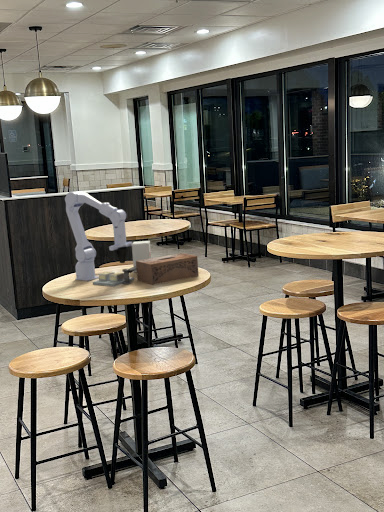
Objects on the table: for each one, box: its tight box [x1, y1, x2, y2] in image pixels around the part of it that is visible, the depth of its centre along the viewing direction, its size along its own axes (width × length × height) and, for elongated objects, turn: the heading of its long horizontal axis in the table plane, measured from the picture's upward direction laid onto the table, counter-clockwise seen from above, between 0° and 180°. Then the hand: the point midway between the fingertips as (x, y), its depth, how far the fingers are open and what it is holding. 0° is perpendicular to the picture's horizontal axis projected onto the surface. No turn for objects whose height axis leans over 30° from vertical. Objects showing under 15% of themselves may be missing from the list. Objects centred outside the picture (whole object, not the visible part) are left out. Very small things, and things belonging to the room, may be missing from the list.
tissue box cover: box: [136, 252, 200, 286], centre depth 307 cm, size 26×14×10 cm, turn 123°
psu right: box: [109, 272, 124, 282], centre depth 305 cm, size 5×6×3 cm
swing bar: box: [121, 266, 137, 274], centre depth 308 cm, size 18×4×2 cm, turn 159°
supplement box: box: [131, 240, 152, 273], centre depth 331 cm, size 9×9×15 cm
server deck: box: [92, 272, 135, 287], centre depth 306 cm, size 18×14×6 cm
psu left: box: [98, 271, 116, 281], centre depth 309 cm, size 5×6×3 cm
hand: (122, 262), depth 310 cm, fingers closed
